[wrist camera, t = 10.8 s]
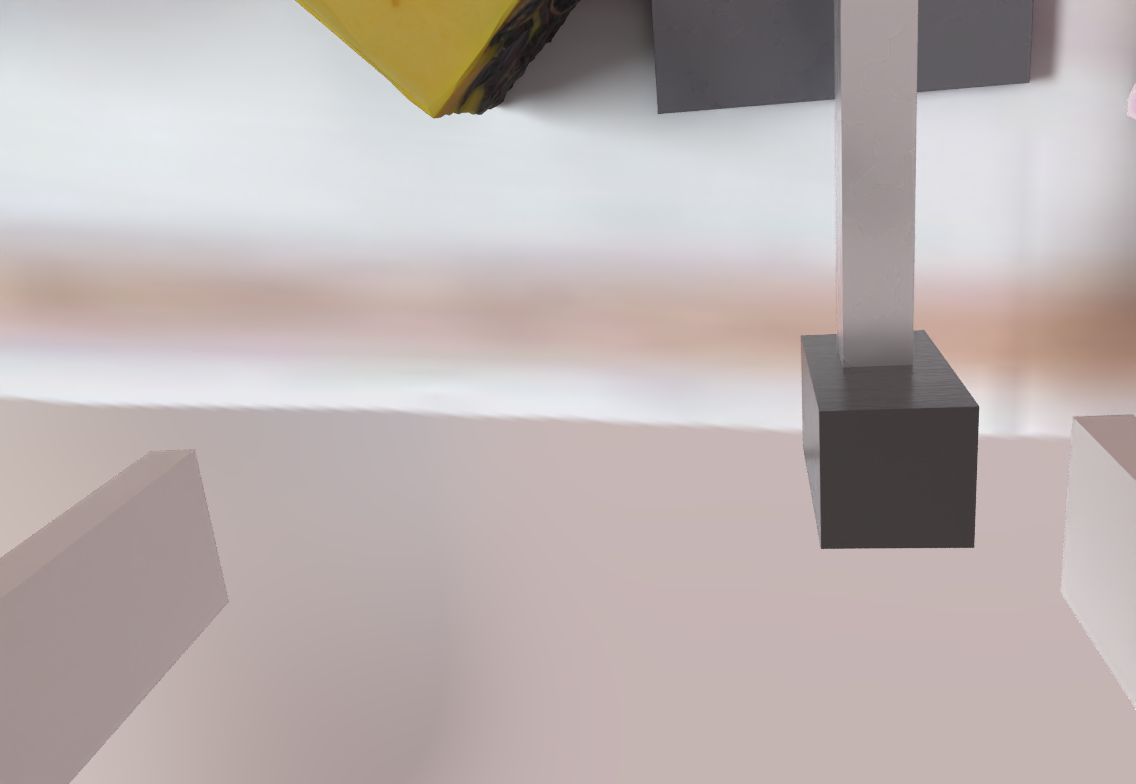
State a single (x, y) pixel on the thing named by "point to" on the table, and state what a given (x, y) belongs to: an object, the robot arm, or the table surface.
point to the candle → (446, 44)
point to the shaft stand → (821, 49)
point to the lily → (1132, 103)
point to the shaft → (882, 321)
